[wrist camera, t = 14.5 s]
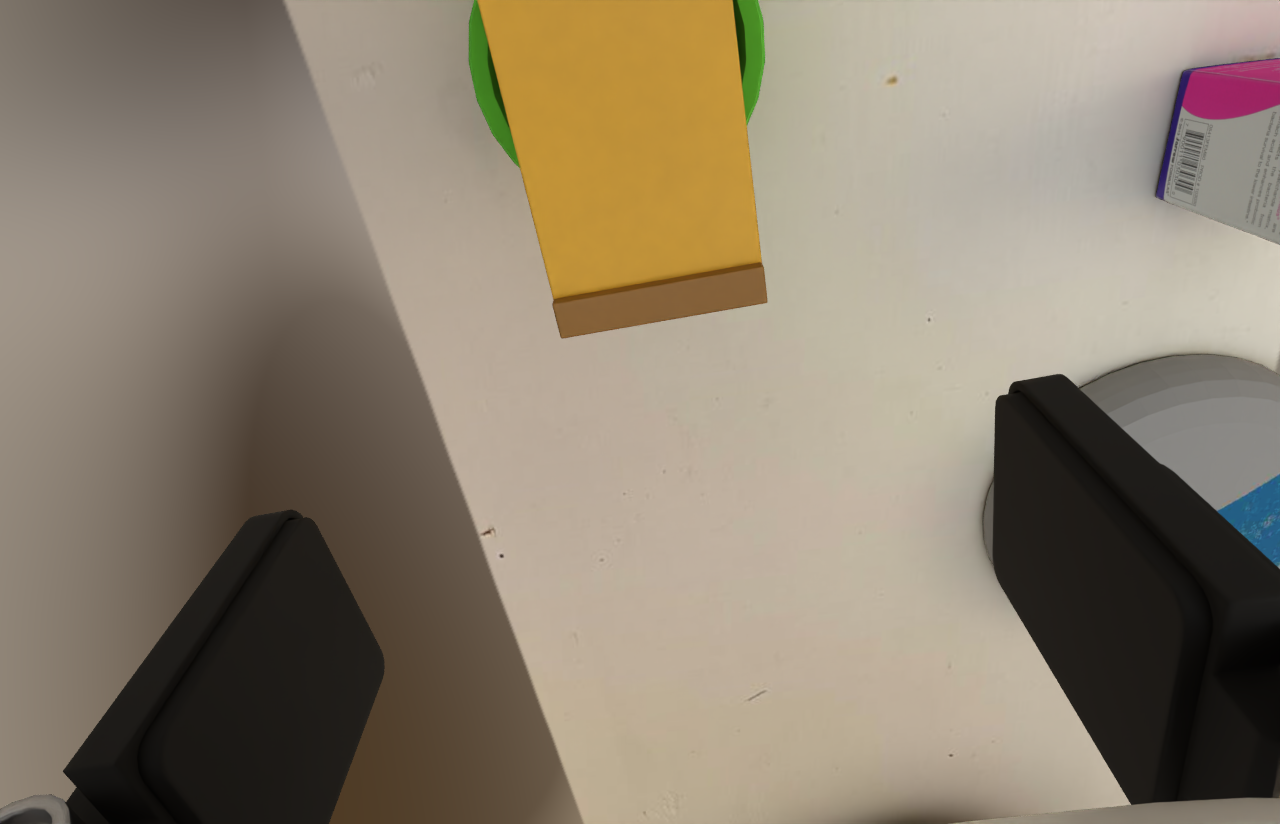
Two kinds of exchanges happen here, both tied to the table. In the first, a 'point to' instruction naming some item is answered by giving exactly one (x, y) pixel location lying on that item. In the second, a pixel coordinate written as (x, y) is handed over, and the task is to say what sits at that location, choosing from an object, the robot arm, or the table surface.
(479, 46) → the cup
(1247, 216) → the supplement box
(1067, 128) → the table surface
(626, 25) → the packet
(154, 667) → the robot arm
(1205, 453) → the grey frisbee
